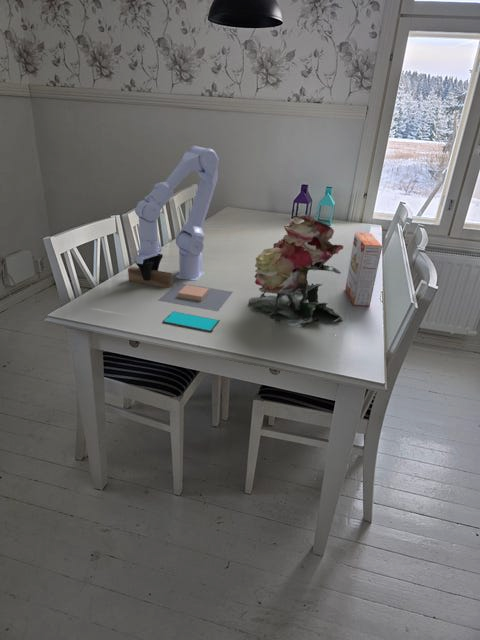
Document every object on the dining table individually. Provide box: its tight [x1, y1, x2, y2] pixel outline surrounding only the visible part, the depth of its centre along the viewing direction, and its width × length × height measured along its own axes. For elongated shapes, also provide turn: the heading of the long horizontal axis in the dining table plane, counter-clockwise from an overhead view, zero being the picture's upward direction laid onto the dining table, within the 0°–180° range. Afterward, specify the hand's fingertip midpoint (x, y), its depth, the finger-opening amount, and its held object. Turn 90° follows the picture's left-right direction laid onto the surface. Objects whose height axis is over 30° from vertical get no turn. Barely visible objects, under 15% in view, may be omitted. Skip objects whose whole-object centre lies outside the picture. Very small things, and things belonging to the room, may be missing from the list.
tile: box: [178, 284, 209, 301], centre depth 138 cm, size 7×2×8 cm
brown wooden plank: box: [127, 266, 173, 289], centre depth 145 cm, size 2×15×5 cm, turn 74°
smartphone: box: [162, 311, 221, 333], centre depth 122 cm, size 7×1×15 cm
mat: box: [157, 282, 234, 312], centre depth 138 cm, size 16×20×1 cm
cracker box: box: [344, 232, 383, 307], centre depth 141 cm, size 14×6×21 cm, turn 178°
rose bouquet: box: [247, 213, 344, 329], centre depth 127 cm, size 26×29×30 cm
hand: (150, 277), depth 145 cm, fingers open, 5 cm apart
